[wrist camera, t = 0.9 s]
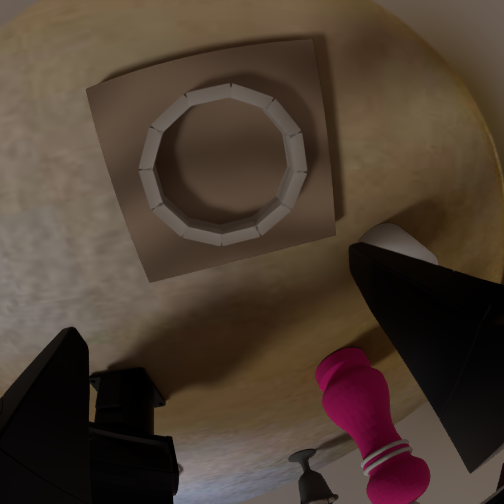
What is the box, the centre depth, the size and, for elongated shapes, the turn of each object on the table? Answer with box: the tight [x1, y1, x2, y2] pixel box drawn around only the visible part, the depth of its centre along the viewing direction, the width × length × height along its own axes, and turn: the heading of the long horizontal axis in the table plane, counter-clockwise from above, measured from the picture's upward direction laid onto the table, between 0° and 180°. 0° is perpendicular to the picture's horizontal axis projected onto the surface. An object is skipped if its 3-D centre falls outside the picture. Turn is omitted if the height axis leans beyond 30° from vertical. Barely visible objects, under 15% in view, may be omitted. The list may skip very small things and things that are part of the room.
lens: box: [357, 223, 438, 265], centre depth 24 cm, size 6×6×5 cm
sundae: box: [288, 449, 338, 504], centre depth 39 cm, size 7×7×15 cm
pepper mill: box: [315, 348, 430, 504], centre depth 25 cm, size 7×7×20 cm
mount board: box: [86, 39, 336, 283], centre depth 19 cm, size 14×14×3 cm
